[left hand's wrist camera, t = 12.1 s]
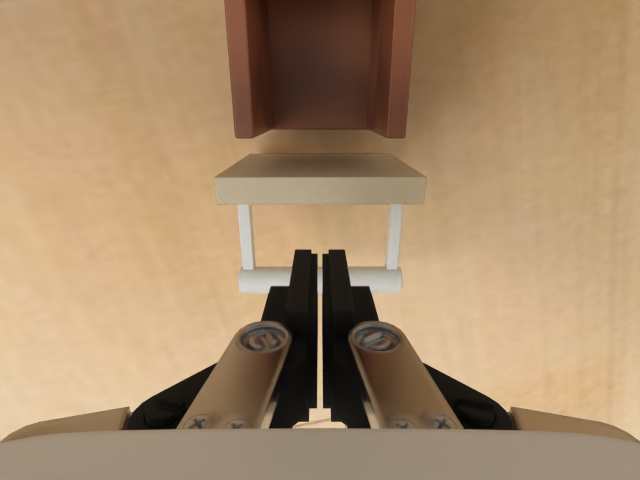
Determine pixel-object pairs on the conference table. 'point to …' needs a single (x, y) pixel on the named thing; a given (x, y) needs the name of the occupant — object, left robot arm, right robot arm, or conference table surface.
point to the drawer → (320, 116)
